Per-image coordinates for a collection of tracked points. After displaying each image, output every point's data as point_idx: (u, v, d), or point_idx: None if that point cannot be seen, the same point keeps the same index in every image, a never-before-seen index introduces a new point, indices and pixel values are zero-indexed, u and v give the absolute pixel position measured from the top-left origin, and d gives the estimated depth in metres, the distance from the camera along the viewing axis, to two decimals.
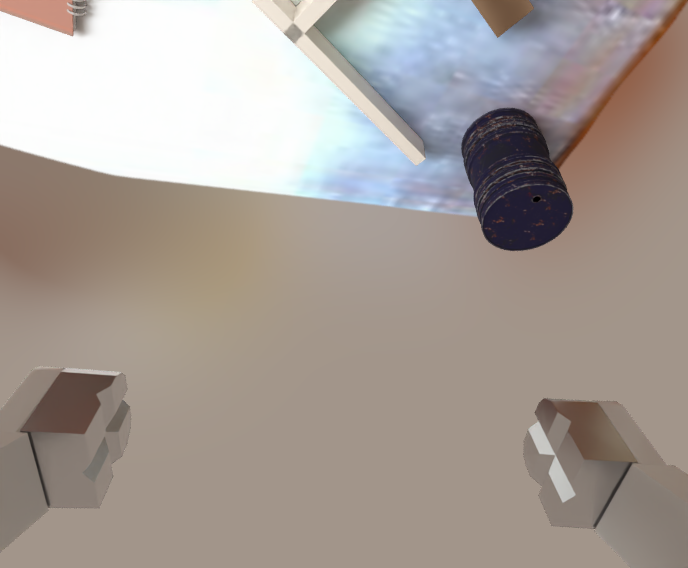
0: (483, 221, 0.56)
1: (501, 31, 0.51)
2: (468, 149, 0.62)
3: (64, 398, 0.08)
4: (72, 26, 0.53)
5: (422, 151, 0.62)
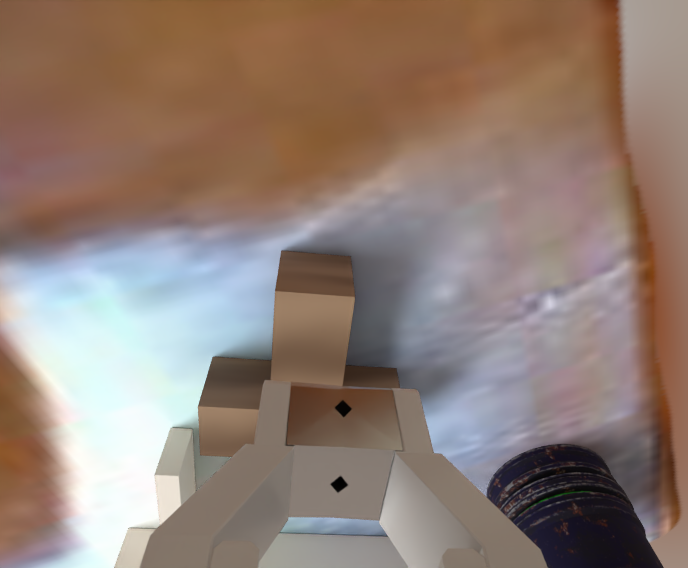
0: None
1: None
2: None
3: (308, 412, 0.09)
4: None
5: None
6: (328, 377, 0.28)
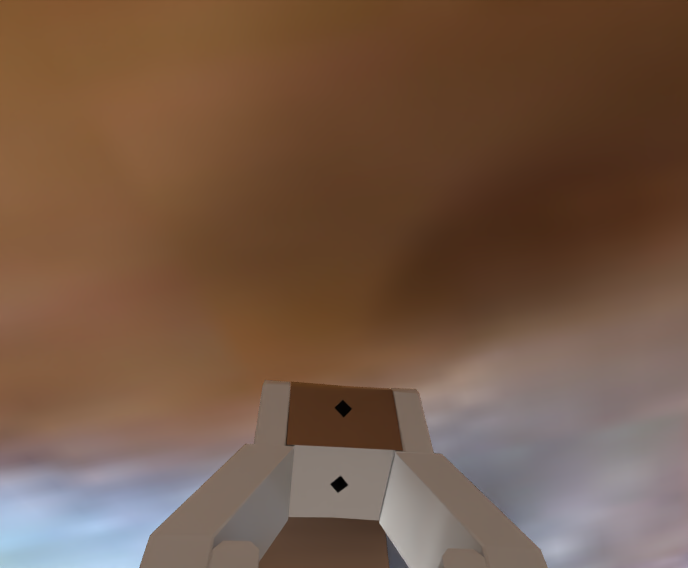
0: None
1: None
2: None
3: (308, 412, 0.09)
4: None
5: None
6: None
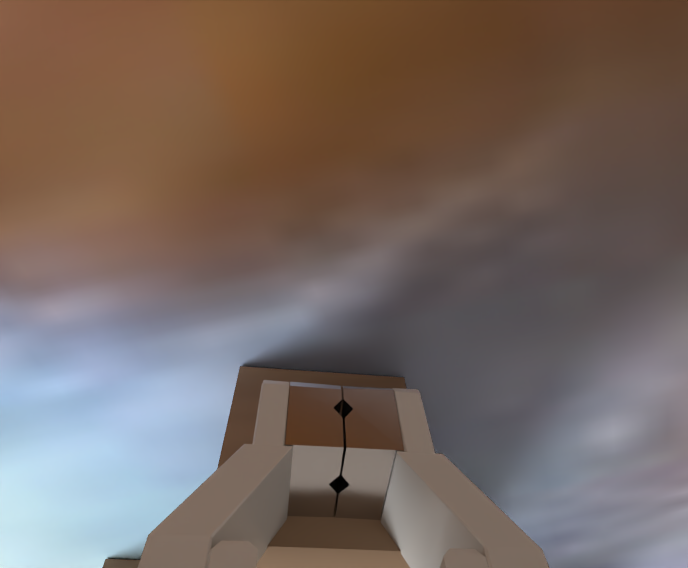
0: None
1: None
2: None
3: (307, 412, 0.09)
4: None
5: None
6: None
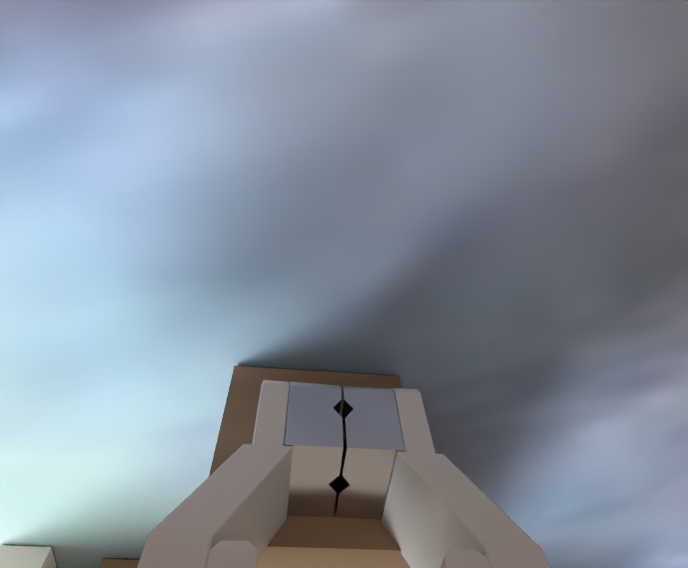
0: None
1: None
2: None
3: (306, 412, 0.09)
4: None
5: None
6: None
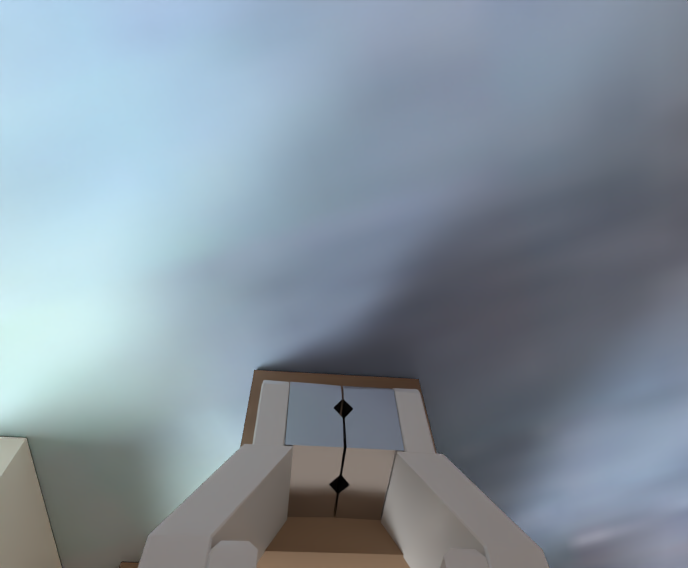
0: None
1: None
2: None
3: (307, 412, 0.09)
4: None
5: None
6: None
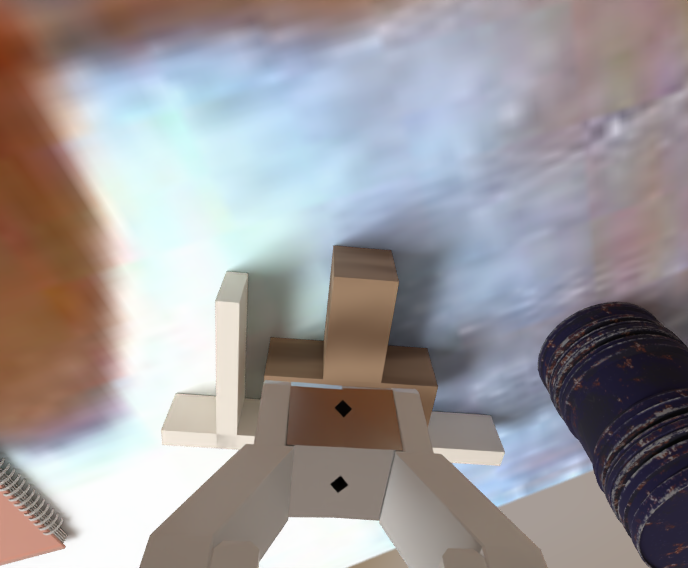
0: (650, 563, 0.28)
1: None
2: (554, 405, 0.38)
3: (308, 412, 0.09)
4: (58, 541, 0.48)
5: (494, 444, 0.40)
6: (373, 351, 0.34)
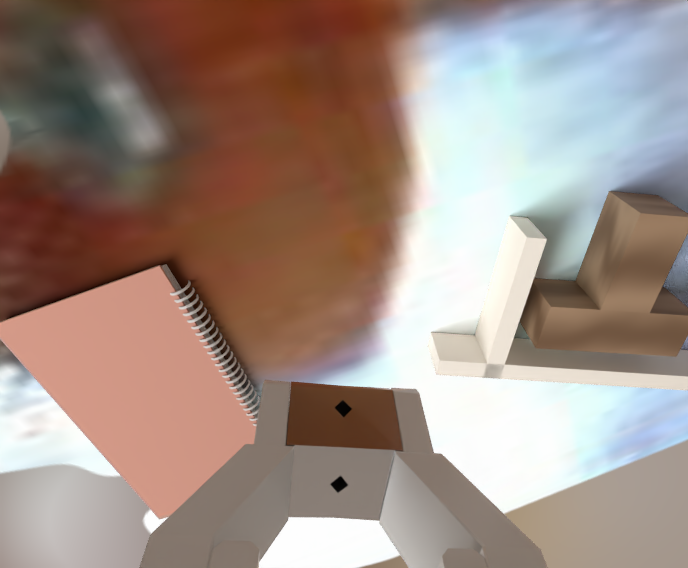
0: None
1: (676, 350, 0.41)
2: None
3: (308, 412, 0.09)
4: None
5: None
6: (652, 282, 0.38)
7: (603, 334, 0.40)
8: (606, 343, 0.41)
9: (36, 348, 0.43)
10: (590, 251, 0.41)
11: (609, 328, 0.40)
